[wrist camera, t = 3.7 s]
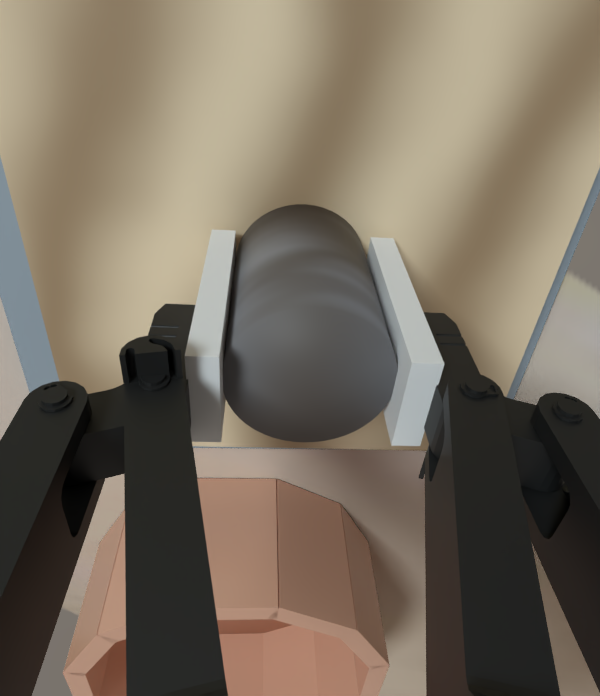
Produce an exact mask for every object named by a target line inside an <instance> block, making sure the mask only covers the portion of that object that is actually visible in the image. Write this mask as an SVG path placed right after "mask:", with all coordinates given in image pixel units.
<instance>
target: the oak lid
mask: <svg viewBox="0 0 600 696" xmlns="http://www.w3.org/2000/svg"><path fill="white" fill-rule="evenodd" d="M0 157H1V160H2V164H3V168H4V172H5V176H6V180H7V183H8V187H9V191H10V195H11V199H12V202H13V206H14V210H15V214H16V218H17V221H18V225H19V229H20V233H21V237H22V241H23V244H24V248H25V252H26V256H27V260H28V263H29V267H30V271H31V275H32V279H33V283H34V286H35V290H36V294H37V298H38V302H39V305H40V309H41V313H42V317H43V321H44V324H45V328H46V332H47V336H48V340H49V344H50V347H51V351H52V355H53V359H54V363H55V366H56V370H57V374H58V378H59V381H70V382H76V383H78V384H80V385H81V386H83V387H84V388H85V390H86V391H87V393H88V394H90V393H95V392H100V391H105V390H109V389H113V388H116V387H118V386H120V385H122V384H124V383H123V377H122V371H121V365H120V359H119V354H120V351H121V348H122V347H123V346H124V345H125V344H127V343H128V342H129V341H131V340H134V339H136V338H138V337H143V336H148V333H149V330H150V327H151V324H152V321H153V317H154V314H155V313H156V312H157V311H158V310H159V309H160V308H161V307H162V306H163V305H165V304H189V305H196V301H197V296H198V291H199V287H200V282H201V277H202V273H203V268H204V264H205V259H206V254H207V250H208V245H209V240H210V236H211V231H212V229H214V230H234V231H236V260H235V268H234V277H233V285H232V293H231V302H230V310H229V318H228V327H227V335H226V343H225V351H224V360H223V393H224V396H225V398H226V402H225V412H224V421H223V431H222V440H221V442H192V445H193V446H207V447H261V448H314V449H368V450H421V451H427V449H428V446H429V443H428V439H427V436H426V433H425V431H424V435H423V438H422V441H421V445H420V446H391V442H390V438H389V434H388V429H387V425H386V421H385V417H384V412H383V409H384V408H385V406H386V405H387V404H388V402H389V401H390V399H391V397H392V393H393V389H394V385H395V380H396V376H397V372H398V370H397V362H396V357H395V354H394V350H393V347H392V343H391V340H390V337H389V333H388V330H387V327H386V323H385V320H384V316H383V313H382V310H381V306H380V303H379V299H378V296H377V293H376V289H375V286H374V283H373V279H372V276H371V272H370V269H369V266H368V262H367V255H368V249H369V243H370V237H378V238H393V239H394V241H395V243H396V246H397V248H398V251H399V253H400V256H401V258H402V261H403V263H404V266H405V268H406V271H407V273H408V275H409V278H410V280H411V283H412V285H413V288H414V290H415V293H416V295H417V298H418V300H419V303H420V305H421V307H422V310H423V312H430V313H445V314H446V315H447V316H448V317H449V318H450V319H452V320H453V321H454V322H455V323H456V324H457V326H458V329H459V331H460V333H461V337H463V339H464V341H465V343H466V346H467V347H468V349H469V351H470V354H471V356H472V358H473V360H474V362H475V364H476V366H477V368H478V370H479V372H480V374H481V375H484V376H486V377H488V378H489V379H491V380H493V381H494V382H495V383H496V384H497V385H498V386H499V387H500V388H501V390H502V392H503V394H504V396H505V397H507V394H508V392H509V389H510V387H511V384H512V382H513V380H514V377H515V375H516V372H517V370H518V367H519V365H520V362H521V360H522V357H523V355H524V352H525V350H526V348H527V345H528V343H529V340H530V338H531V335H532V333H533V330H534V328H535V325H536V323H537V320H538V318H539V316H540V313H541V311H542V308H543V306H544V303H545V301H546V298H547V296H548V293H549V291H550V289H551V286H552V284H553V281H554V279H555V276H556V274H557V271H558V269H559V266H560V264H561V261H562V259H563V257H564V254H565V252H566V249H567V247H568V244H569V242H570V239H571V237H572V234H573V232H574V230H575V227H576V225H577V222H578V220H579V217H580V215H581V212H582V210H583V207H584V205H585V202H586V200H587V198H588V195H589V193H590V190H591V188H592V185H593V183H594V180H595V178H596V175H597V173H598V170H599V168H600V0H0Z"/></svg>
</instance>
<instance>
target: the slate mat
mask: <svg viewBox="0 0 600 696" xmlns="http://www.w3.org/2000/svg"><path fill="white" fill-rule="evenodd" d="M599 191H600V168H599V170H598V173H597V175H596V178H595V180H594V183H593V185H592V188H591V190H590V193H589V195H588V198H587V200H586V202H585V205H584V207H583V210H582V212H581V215H580V217H579V220H578V222H577V225H576V227H575V230H574V232H573V234H572V237H571V239H570V242H569V244H568V247H567V249H566V252H565V254H564V257H563V259H562V261H561V264H560V266H559V269H558V271H557V274H556V276H555V279H554V281H553V284H552V286H551V289H550V291H549V293H548V296H547V298H546V301H545V303H544V306H543V308H542V311H541V313H540V316H539V318H538V320H537V323H536V325H535V328H534V330H533V333H532V335H531V338H530V340H529V343H528V345H527V348H526V350H525V352H524V355H523V357H522V360H521V362H520V365H519V367H518V370H517V372H516V375H515V377H514V380H513V382H512V384H511V387H510V389H509V392H508V394H507V398H510V399H514V397H515V395H516V392H517V390H518V387H519V385H520V382H521V380H522V378H523V375H524V373H525V370H526V368H527V365H528V363H529V361H530V358H531V356H532V353H533V351H534V349H535V346H536V344H537V341H538V339H539V336H540V334H541V332H542V329H543V327H544V324H545V322H546V320H547V317H548V315H549V312H550V310H551V307H552V305H553V303H554V300H555V298H556V295H557V293H558V290H559V288H560V286H561V283H562V281H563V278H564V276H565V274H566V271H567V269H568V266H569V264H570V261H571V259H572V257H573V254H574V252H575V249H576V246H577V245H578V242H579V240H580V237H581V235H582V232H583V230H584V228H585V225H586V222H587V220H588V218H589V215H590V213H591V211H592V208H593V206H594V203H595V201H596V199H597V196H598V193H599ZM0 297H1V300H2V303H3V306H4V310H5V313H6V316H7V319H8V323H9V326H10V329H11V333H12V336H13V339H14V342H15V346H16V349H17V352H18V355H19V359H20V362H21V365H22V368H23V372H24V375H25V378H26V382H27V385H28V388H29V391H30V392H31V391H33V390H35V389H36V388H38V387H40V386H41V385H44V384H48V383H51V382H55V381H59V378H58V374H57V370H56V366H55V363H54V359H53V355H52V351H51V347H50V344H49V340H48V336H47V332H46V328H45V324H44V321H43V317H42V313H41V309H40V305H39V302H38V298H37V294H36V290H35V286H34V283H33V279H32V275H31V271H30V267H29V263H28V260H27V256H26V252H25V248H24V244H23V241H22V237H21V233H20V229H19V225H18V221H17V218H16V214H15V210H14V206H13V202H12V199H11V195H10V191H9V187H8V183H7V180H6V176H5V172H4V168H3V164H2V160H1V157H0ZM193 448H261V447H207V446H193ZM269 449H314V448H269ZM358 450H368V449H358Z"/></svg>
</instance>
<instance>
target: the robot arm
mask: <svg viewBox="0 0 600 696" xmlns="http://www.w3.org/2000/svg"><path fill="white" fill-rule="evenodd" d="M235 260H236V231H234V230H214V229H212V231H211V236H210V240H209V245H208V250H207V254H206V259H205V264H204V268H203V273H202V277H201V282H200V287H199V291H198V296H197V301H196V305H189V304H165V305H163V306H162V307H161V308H160V309H159V310H158V311H157V312H156V313H155V314H154V317H153V321H152V324H151V327H150V330H149V333H148V336H143V337H138V338H136V339H134V340H131V341H129V342H128V343H127V344H125V345H124V346H123V347H122V348H121V351H120V354H119V359H120V365H121V371H122V377H123V383H124V384H122V385H120V386H118V387H116V388H113V389H109V390H105V391H100V392H95V393H90V394H88V393H87V391H86V390H85V388H84V387H83V386H81V385H80V384H78V383H76V382H70V381H55V382H51V383H48V384H44V385H41V386H40V387H38V388H36V389H35V390H33V391H31V392H30V393H29V395H28V396H27V397H26V398H25V399H24V401H23V402H22V404H21V406H20V408H19V409H18V411H17V413H16V415H15V416H14V418H13V420H12V422H11V423H10V425H9V427H8V428H7V430H6V432H5V434H4V435H3V437H2V439H1V441H0V696H32V693H33V690H34V687H35V684H36V681H37V678H38V675H39V672H40V669H41V666H42V663H43V660H44V657H45V655H46V652H47V649H48V645H49V642H50V640H51V637H52V634H53V631H54V628H55V625H56V622H57V619H58V616H59V613H60V610H61V607H62V604H63V602H64V599H65V596H66V593H67V590H68V587H69V584H70V581H71V578H72V575H73V572H74V569H75V566H76V563H77V560H78V557H79V554H80V551H81V549H82V546H83V543H84V540H85V537H86V534H87V531H88V528H89V525H90V522H91V519H92V516H93V513H94V510H95V507H96V504H97V501H98V498H99V496H100V493H101V490H102V487H103V484H104V481H105V478H108V477H112V476H116V475H120V474H124V473H125V582H126V696H228V692H227V686H226V679H225V672H224V665H223V658H222V651H221V644H220V637H219V630H218V622H217V615H216V608H215V601H214V594H213V587H212V580H211V573H210V566H209V559H208V552H207V545H206V538H205V530H204V523H203V516H202V509H201V502H200V495H199V488H198V481H197V474H196V467H195V460H194V453H193V445H192V442H221V440H222V431H223V421H224V412H225V402H226V398H225V396H224V393H223V360H224V351H225V343H226V335H227V327H228V318H229V310H230V302H231V293H232V285H233V277H234V268H235ZM367 262H368V266H369V269H370V272H371V276H372V279H373V283H374V286H375V289H376V293H377V296H378V299H379V303H380V306H381V310H382V313H383V316H384V320H385V323H386V327H387V330H388V333H389V337H390V340H391V343H392V347H393V350H394V354H395V357H396V362H397V370H398V372H397V376H396V380H395V385H394V389H393V393H392V397H391V399H390V401H389V402H388V404H387V405H386V406H385V408H384V409H383V412H384V417H385V421H386V425H387V429H388V434H389V438H390V442H391V446H420V445H421V441H422V438H423V435H424V431H425V433H426V436H427V439H428V443H429V446H428V449H427V452H426V455H425V458H424V462H423V465H422V468H421V471H420V475H419V478H421V479H423V477H424V474H425V551H426V683H427V696H560V691H559V686H558V681H557V675H556V670H555V665H554V659H553V654H552V649H551V643H550V638H549V633H548V628H547V622H546V617H545V612H544V606H543V601H542V596H541V591H540V585H539V580H538V575H537V569H536V564H535V559H534V553H533V548H532V543H533V546H534V548H535V550H536V552H537V555H538V557H539V559H540V561H541V563H542V566H543V568H544V570H545V572H546V574H547V577H548V579H549V581H550V583H551V586H552V588H553V590H554V592H555V594H556V597H557V599H558V601H559V603H560V605H561V608H562V610H563V612H564V614H565V616H566V619H567V621H568V623H569V625H570V628H571V630H572V632H573V634H574V636H575V639H576V641H577V643H578V645H579V647H580V650H581V652H582V654H583V656H584V658H585V661H586V663H587V665H588V667H589V670H590V672H591V674H592V676H593V678H594V681H595V683H596V685H597V687H598V689H599V692H600V419H599V418H598V416H597V415H596V414H595V412H594V411H593V410H592V409H591V408H590V407H589V406H588V405H587V404H585V403H584V402H582V401H581V400H579V399H577V398H575V397H572V396H569V395H567V394H561V393H549V394H545V395H544V396H542V397H540V399H539V401H538V403H537V405H533V404H529V403H525V402H521V401H517V400H513V399H510V398H507V397H505V396H504V394H503V392H502V390H501V388H500V387H499V386H498V385H497V384H496V383H495V382H494V381H493V380H491V379H489V378H488V377H486V376H484V375H481V374H480V372H479V370H478V368H477V366H476V364H475V362H474V360H473V358H472V356H471V354H470V351H469V349H468V347H467V346H466V343H465V341H464V339H463V337H461V333H460V331H459V329H458V326H457V324H456V323H455V322H454V321H453V320H452V319H450V318H449V317H448V316H447V315H446V314H445V313H430V312H423V310H422V307H421V305H420V303H419V300H418V298H417V295H416V293H415V290H414V288H413V285H412V283H411V280H410V278H409V275H408V273H407V271H406V268H405V266H404V263H403V261H402V258H401V256H400V253H399V251H398V248H397V246H396V243H395V241H394V239H393V238H378V237H370V243H369V249H368V255H367ZM531 541H532V543H531Z"/></svg>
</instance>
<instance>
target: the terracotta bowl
mask: <svg viewBox="0 0 600 696" xmlns="http://www.w3.org/2000/svg"><path fill="white" fill-rule="evenodd" d="M197 481H198V488H199V495H200V502H201V509H202V516H203V523H204V530H205V538H206V545H207V552H208V559H209V566H210V573H211V580H212V587H213V594H214V601H215V608H216V615H217V622H218V630H219V637H220V644H221V651H222V658H223V665H224V672H225V679H226V686H227V692H228V696H378V695H379V692H380V689H381V687H382V684H383V681H384V679H385V676H386V673H387V671H388V668H389V660H388V655H387V649H386V643H385V637H384V631H383V625H382V620H381V614H380V608H379V602H378V596H377V590H376V584H375V579H374V573H373V567H372V561H371V555H370V549H369V544H368V541H367V540H366V538H365V537H364V536H363V534H362V533H361V531H360V530H359V529H358V527H357V526H356V524H355V523H354V522H353V520H352V519H351V518H350V516H349V515H348V513H347V512H346V511H345V509H344V508H343V507H342V505H340V504H339V503H337V502H334V501H332V500H329V499H327V498H324V497H322V496H319V495H316V494H314V493H311V492H309V491H306V490H304V489H301V488H299V487H296V486H294V485H291V484H289V483H286V482H284V481H281V480H279V479H277V480H276V479H230V478H197ZM63 674H64V676H65V679H66V681H67V683H68V685H69V688H70V690H71V693H72V695H73V696H126V582H125V510H124V511H123V512H122V514H121V515H120V516H119V518H118V519H117V520H116V522H115V523H114V524H113V526H112V527H111V528H110V530H109V531H108V532H107V534H106V535H105V536H104V538H103V539H102V540H101V542H100V543H99V547H98V550H97V554H96V557H95V561H94V564H93V568H92V572H91V575H90V579H89V582H88V586H87V589H86V593H85V596H84V600H83V604H82V607H81V611H80V614H79V618H78V621H77V625H76V629H75V632H74V636H73V639H72V643H71V646H70V650H69V653H68V657H67V660H66V664H65V668H64V671H63Z"/></svg>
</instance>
